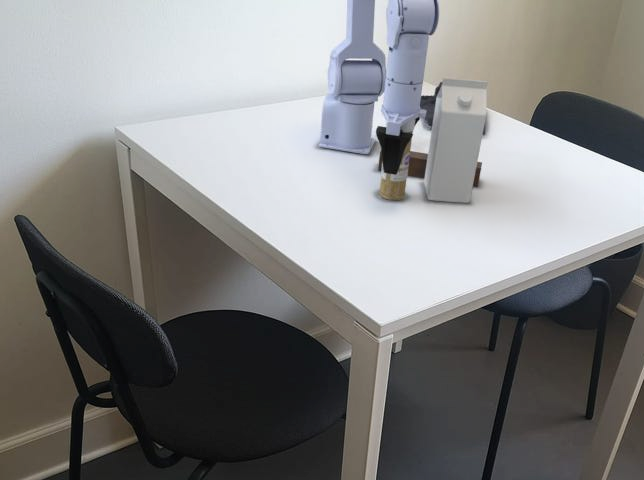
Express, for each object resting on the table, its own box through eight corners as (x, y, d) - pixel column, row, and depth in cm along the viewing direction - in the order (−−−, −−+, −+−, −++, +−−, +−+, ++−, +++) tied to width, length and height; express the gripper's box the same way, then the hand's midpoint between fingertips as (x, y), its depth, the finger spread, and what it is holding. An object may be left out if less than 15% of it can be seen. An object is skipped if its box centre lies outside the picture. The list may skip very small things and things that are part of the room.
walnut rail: (377, 171, 128) (379, 152, 126) (380, 165, 131) (382, 146, 129) (477, 187, 127) (481, 168, 125) (478, 180, 129) (482, 162, 127)
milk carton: (423, 183, 126) (440, 71, 114) (463, 186, 126) (483, 75, 115) (427, 201, 120) (445, 84, 109) (469, 204, 121) (491, 88, 109)
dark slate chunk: (413, 130, 147) (416, 107, 145) (417, 98, 165) (420, 77, 162) (487, 139, 147) (491, 116, 144) (483, 107, 165) (487, 85, 162)
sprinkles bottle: (400, 203, 118) (411, 122, 110) (374, 197, 119) (383, 116, 111) (408, 193, 122) (418, 114, 114) (382, 187, 123) (391, 108, 115)
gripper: (424, 96, 103) (412, 185, 111) (435, 70, 115) (423, 153, 123) (376, 88, 104) (367, 177, 112) (392, 64, 115) (383, 146, 123)
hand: (394, 164), depth 117 cm, fingers open, 7 cm apart
